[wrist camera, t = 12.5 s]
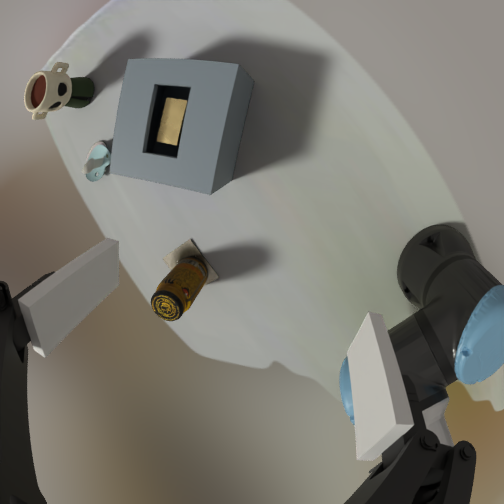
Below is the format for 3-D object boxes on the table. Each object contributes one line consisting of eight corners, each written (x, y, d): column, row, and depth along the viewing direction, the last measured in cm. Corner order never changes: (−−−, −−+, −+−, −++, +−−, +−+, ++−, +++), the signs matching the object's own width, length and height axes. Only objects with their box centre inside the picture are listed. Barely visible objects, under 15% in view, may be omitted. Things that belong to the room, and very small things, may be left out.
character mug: (82, 124, 43) (32, 130, 31) (63, 109, 42) (15, 112, 30) (108, 75, 38) (59, 67, 27) (87, 62, 37) (40, 54, 26)
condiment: (190, 293, 53) (165, 331, 42) (162, 258, 51) (130, 290, 40) (219, 276, 50) (197, 315, 39) (190, 238, 48) (160, 269, 37)
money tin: (254, 81, 36) (238, 64, 26) (231, 180, 43) (210, 195, 33) (164, 71, 37) (128, 59, 27) (147, 163, 44) (109, 173, 34)
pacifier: (84, 164, 46) (101, 183, 47) (62, 169, 40) (80, 190, 41) (100, 134, 43) (119, 152, 44) (78, 135, 38) (97, 156, 38)
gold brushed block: (207, 105, 38) (187, 100, 31) (197, 143, 41) (176, 145, 33) (189, 102, 38) (166, 97, 31) (180, 139, 41) (156, 141, 33)
